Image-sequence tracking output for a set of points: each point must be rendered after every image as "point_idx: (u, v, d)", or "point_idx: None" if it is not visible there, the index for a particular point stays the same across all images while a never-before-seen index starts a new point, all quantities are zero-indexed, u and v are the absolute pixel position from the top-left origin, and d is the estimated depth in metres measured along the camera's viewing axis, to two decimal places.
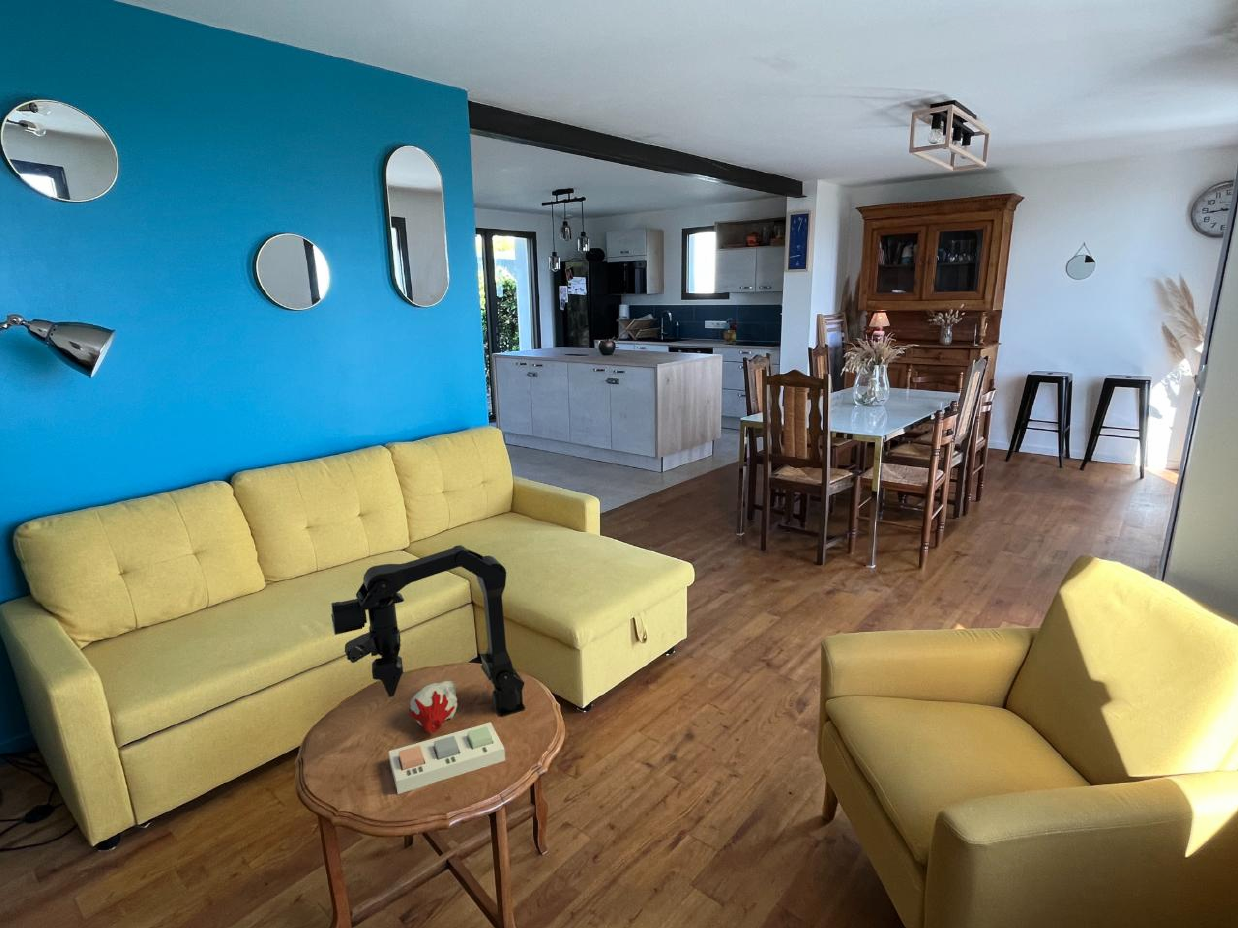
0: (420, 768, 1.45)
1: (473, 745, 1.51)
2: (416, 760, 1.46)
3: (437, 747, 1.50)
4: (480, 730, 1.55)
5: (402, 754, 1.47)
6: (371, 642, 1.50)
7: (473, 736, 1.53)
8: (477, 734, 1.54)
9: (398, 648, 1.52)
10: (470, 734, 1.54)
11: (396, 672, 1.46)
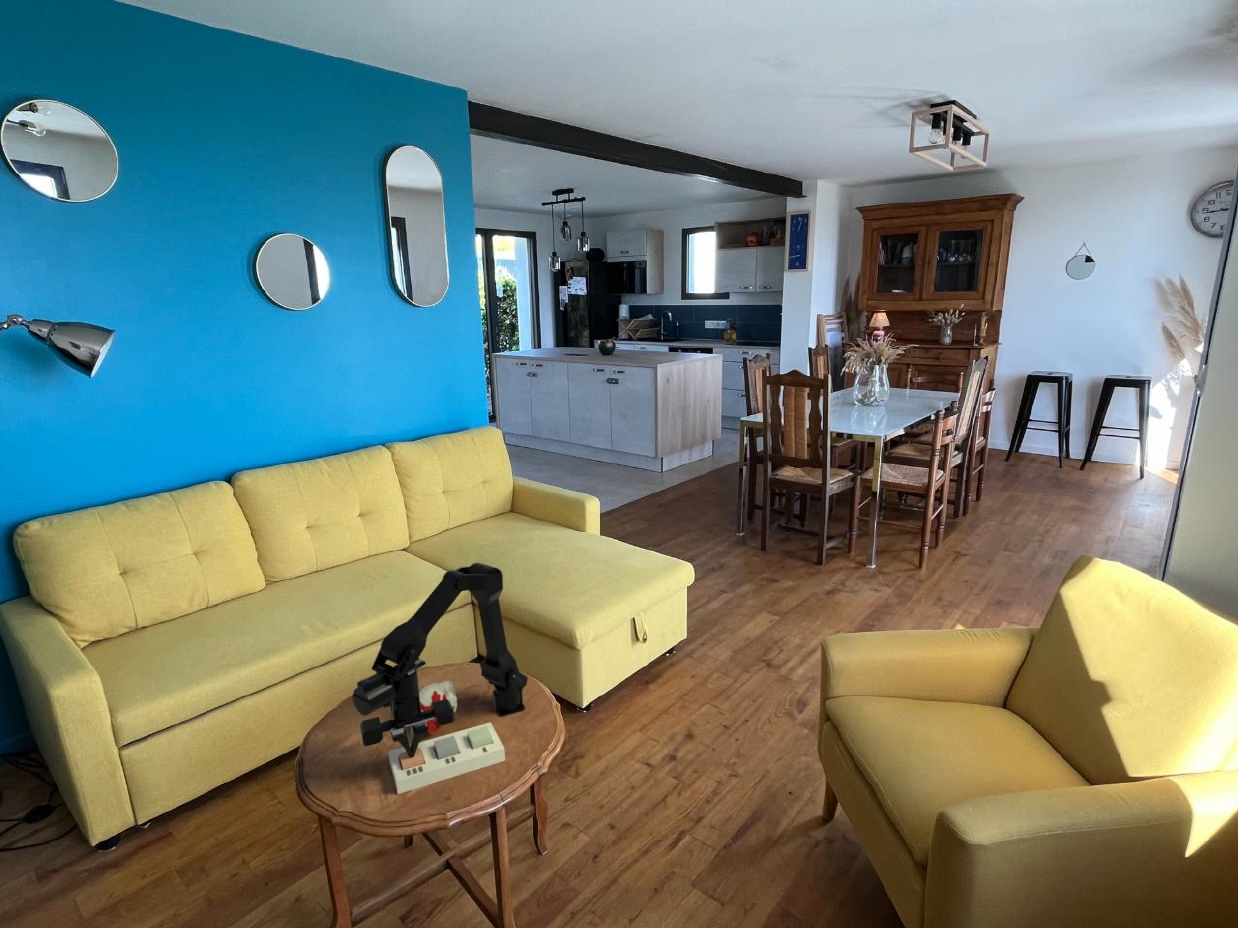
0: (420, 768, 1.45)
1: (473, 745, 1.51)
2: (417, 763, 1.46)
3: (437, 747, 1.50)
4: (480, 730, 1.55)
5: (402, 756, 1.48)
6: None
7: (473, 736, 1.53)
8: (477, 734, 1.54)
9: (397, 724, 1.42)
10: (470, 734, 1.54)
11: (362, 740, 1.40)
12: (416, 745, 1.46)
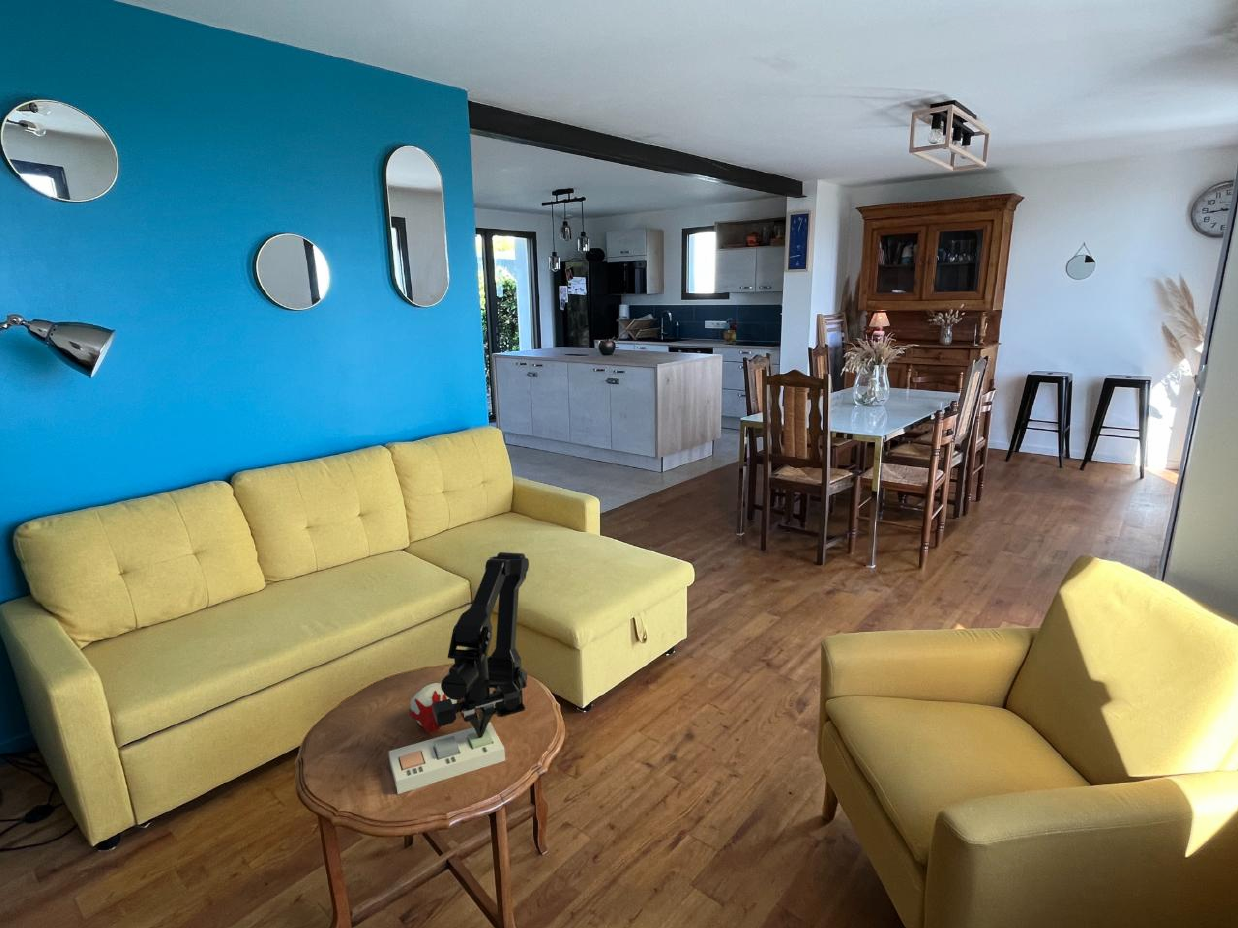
0: (420, 768, 1.45)
1: (473, 748, 1.51)
2: (417, 765, 1.46)
3: (437, 747, 1.50)
4: None
5: (403, 759, 1.48)
6: None
7: (473, 739, 1.53)
8: (477, 737, 1.54)
9: (469, 705, 1.49)
10: (470, 737, 1.54)
11: (436, 720, 1.47)
12: (485, 726, 1.52)
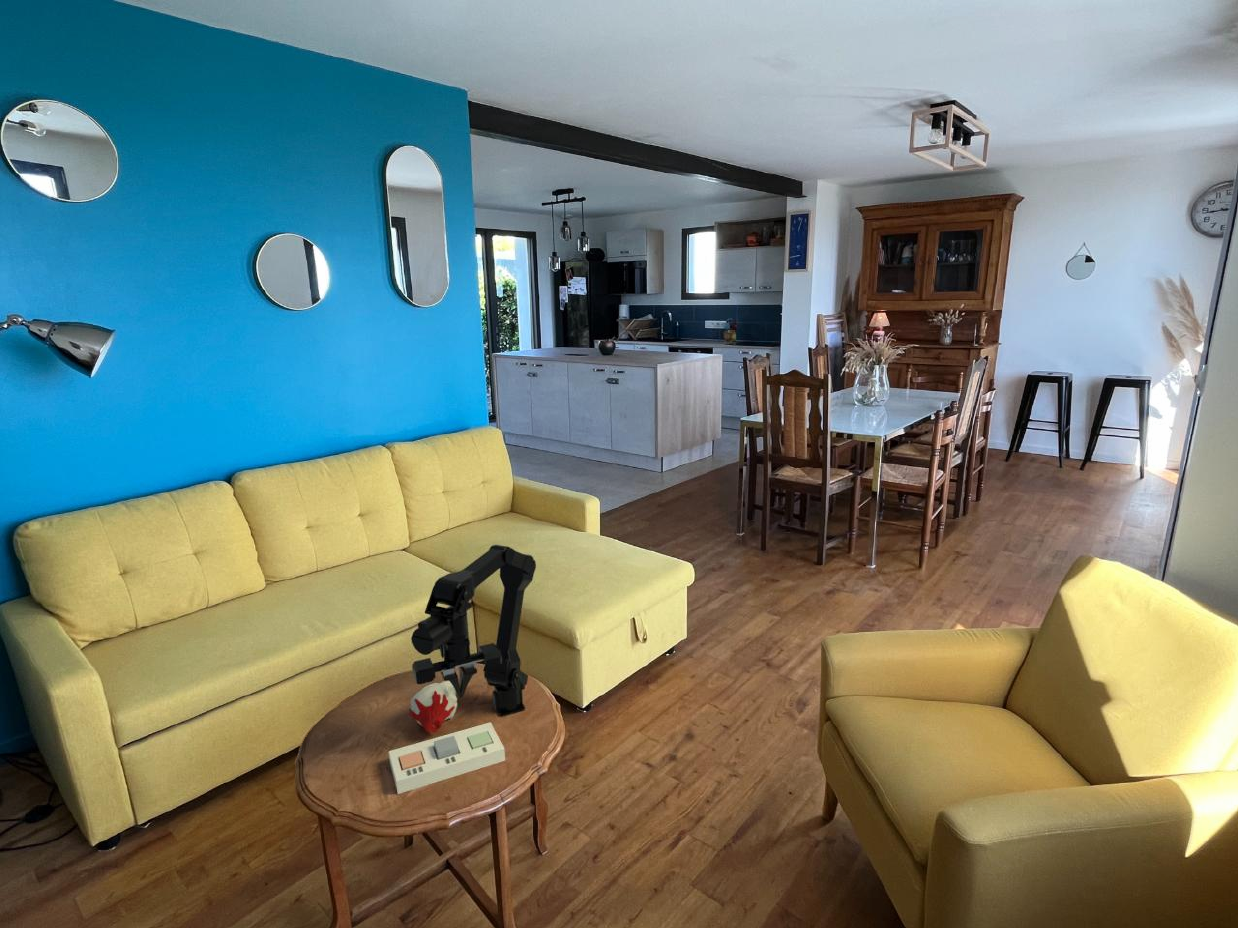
0: (420, 768, 1.45)
1: None
2: (417, 765, 1.46)
3: (437, 747, 1.50)
4: (481, 735, 1.55)
5: (403, 759, 1.48)
6: None
7: (474, 741, 1.53)
8: (477, 739, 1.54)
9: (448, 664, 1.48)
10: (470, 739, 1.54)
11: (415, 679, 1.46)
12: (465, 686, 1.51)
